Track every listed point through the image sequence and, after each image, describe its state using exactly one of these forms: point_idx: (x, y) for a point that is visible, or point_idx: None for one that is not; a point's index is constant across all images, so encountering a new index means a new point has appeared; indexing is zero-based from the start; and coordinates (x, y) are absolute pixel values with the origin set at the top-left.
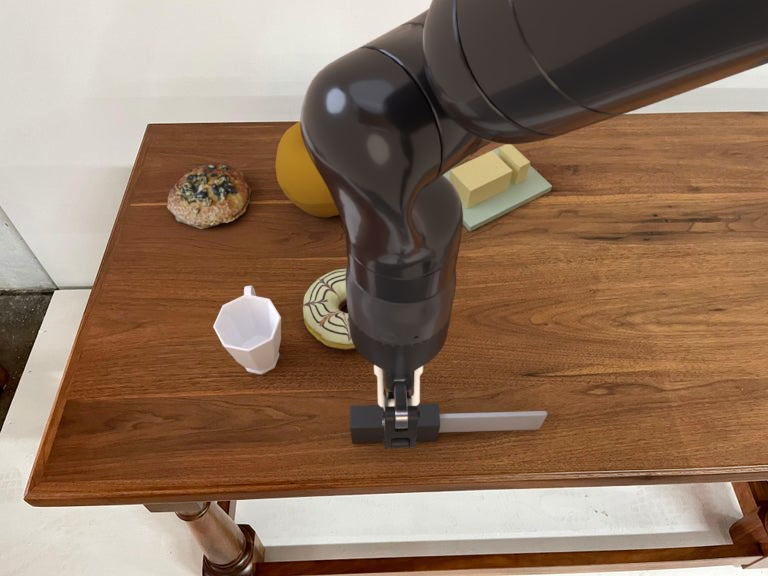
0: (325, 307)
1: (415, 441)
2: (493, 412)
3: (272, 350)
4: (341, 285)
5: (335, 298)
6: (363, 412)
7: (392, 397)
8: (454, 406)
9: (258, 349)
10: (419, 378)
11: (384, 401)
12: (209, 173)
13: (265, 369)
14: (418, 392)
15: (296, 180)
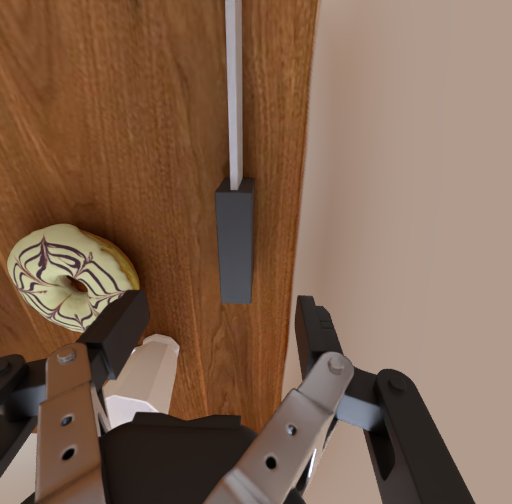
0: (86, 317)
1: (433, 422)
2: (228, 90)
3: (158, 374)
4: (46, 298)
5: (69, 302)
6: (230, 289)
7: (305, 467)
8: (204, 147)
9: (161, 404)
10: (283, 501)
11: (312, 474)
12: None
13: (174, 345)
14: (311, 450)
15: None
